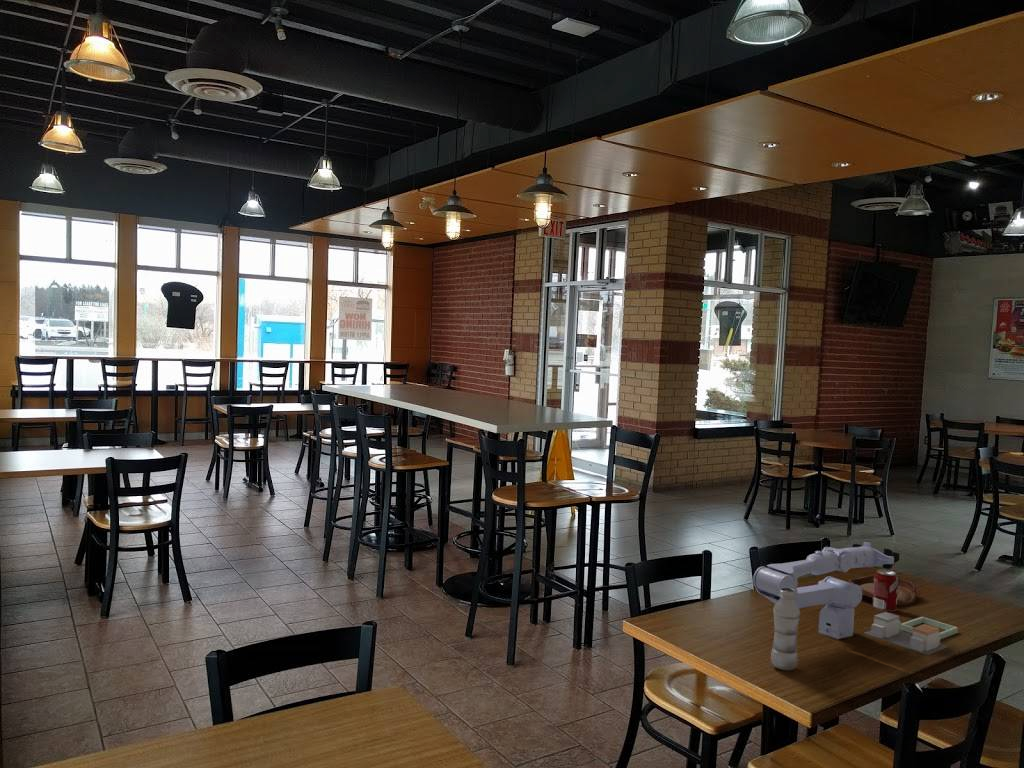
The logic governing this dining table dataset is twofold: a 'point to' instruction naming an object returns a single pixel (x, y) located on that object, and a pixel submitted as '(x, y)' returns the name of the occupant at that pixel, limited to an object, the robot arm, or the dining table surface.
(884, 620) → the block
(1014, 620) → the dining table surface
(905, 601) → the basket
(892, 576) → the soda can
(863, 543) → the robot arm
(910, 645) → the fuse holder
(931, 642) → the block
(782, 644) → the plastic bottle
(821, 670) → the dining table surface
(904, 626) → the tray
